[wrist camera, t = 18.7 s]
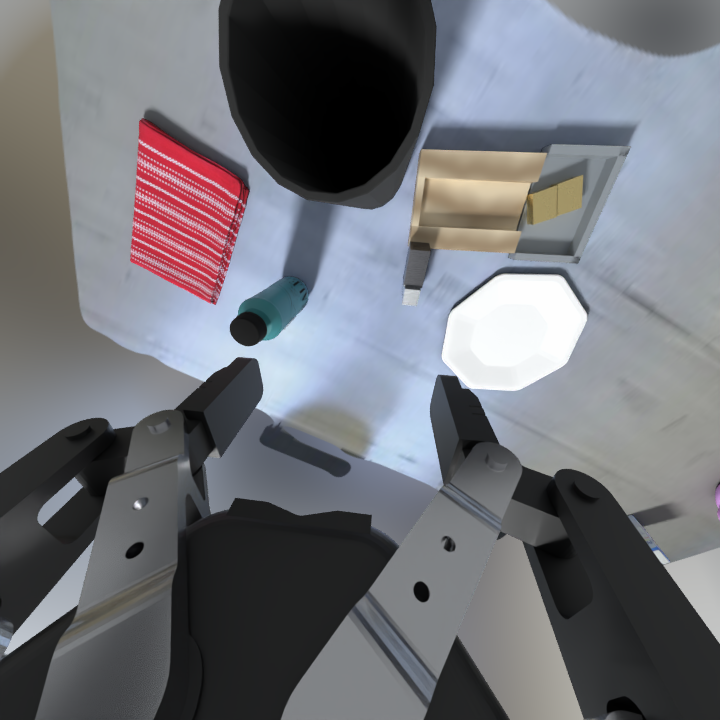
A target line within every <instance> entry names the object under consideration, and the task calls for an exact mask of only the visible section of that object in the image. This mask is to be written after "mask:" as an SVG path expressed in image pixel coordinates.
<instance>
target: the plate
mask: <svg viewBox="0 0 720 720" xmlns="http://www.w3.org/2000/svg"><path fill="white" fill-rule="evenodd" d="M586 321H587V313H586V311H585V310H584V308H583V306H582V305H581V303H580V302H579V300H578V299H577V297H576V295H575V294H574V292H573V291H572V289H571V288H570V286H569V284H568V283H567V281H566V280H565V278H564V277H562V276H560V275H558V274H508V273H503V274H500V275H497V276H495V277H494V278H492V279H491V280H490V281H489V282H487V283H486V284H485V285H483V286H482V287H481V288H479V289H478V290H477V291H476V292H474V293H473V294H472V295H470V296H469V297H468V298H467V299H465V300H464V301H463V302H461V303H460V304H459V305H457V306H456V307H455V308H454V309H452V311H451V312H450V314H449V317H448V322H447V328H446V333H445V339H444V344H443V350H442V359H443V361H444V362H445V363H446V364H447V365H448V366H449V367H450V368H451V369H452V371H453V372H454V373H455V374H456V375H457V376H458V377H459V378H460V379H461V380H462V381H463V382H464V383H465V384H466V385H467V386H468V387H470V388H474V389H491V390H508V391H516V390H520V389H522V388H524V387H526V386H528V385H529V384H531V383H533V382H535V381H537V380H539V379H540V378H542V377H544V376H546V375H548V374H550V373H551V372H553V371H555V370H557V369H559V368H561V367H562V366H564V365H565V364H566V363H567V361H568V359H569V357H570V355H571V353H572V351H573V349H574V347H575V345H576V342H577V340H578V338H579V336H580V334H581V332H582V330H583V328H584V326H585V324H586Z"/></svg>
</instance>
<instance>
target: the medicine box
mask: <svg viewBox="0 0 720 720" xmlns="http://www.w3.org/2000/svg"><path fill="white" fill-rule="evenodd" d="M628 517H629V519H630V520H631V522H632V523H633V524H634V526H635V527H636V529H637V530H638V531H639V533H640V534H641V536H642V537H643V538H644V540H645V541H646V542H647V544H648V545H649V547H650V548H651V549H652V551H653V552H654V554H655V555H656V556H657V558H658V559H659V560H660V562H661V563H662V564H665V563H669V562H670V560H669V559H668V558H667V556H666V555H665V554H664V553H663V551H662V550H661V549H660V548H659V546H658V545H657V544H656V543H655V541H654V540H653V539H652V537H651V536H650V535H649V534H648V532H647V531H646V530H645V529H644V527H643V526H642V525H641V524H640V523H639V522H638V521H637V520H636V519H635V517H634V516H633V515H628Z"/></svg>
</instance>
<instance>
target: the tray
mask: <svg viewBox="0 0 720 720" xmlns="http://www.w3.org/2000/svg"><path fill="white" fill-rule="evenodd" d="M630 148H631V146H602V145H566V144H551V145H549V146H547V147H544V148H542V151H541V153H547V155H546V158H545V162H544V165H543V168H542V171H541V174H540V177H539V180H538V182H533V183H531V186H530V189H529V192H528V194H530V193H533V192H536V191H538V190H541V189H544V188H547V187H550V185H553V184H555V183H558V182H561V181H563V180H566V179H569V178H571V177H574V176H579V175H583V190H582V208H579V209H577V210H574V211H571V212H568V213H565V214H562V215H559V216H557V217H555V218H552V219H549V220H546V221H543V222H540V223H537V224H534V225H530V224H527V205H526V202H525V205H524V208H523V211H522V215H521V218H520V221H519V224H518V227H517V230H516V231H522V232H521V235H520V238H519V241H518V244H517V247H516V250H515V253H509V256H508V258H510V259H513V260H524V261H541V262H559V263H576V264H578V262H579V260H580V258H581V256H582V254H583V251H584V249H585V247H586V245H587V243H588V240H589V238H590V236H591V234H592V232H593V229H594V227H595V225H596V223H597V221H598V218H599V216H600V214H601V212H602V209H603V207H604V205H605V203H606V201H607V198H608V196H609V194H610V192H611V190H612V187H613V185H614V183H615V181H616V179H617V176H618V174H619V172H620V170H621V168H622V165H623V163H624V161H625V159H626V157H627V154H628V152H629V150H630Z"/></svg>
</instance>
